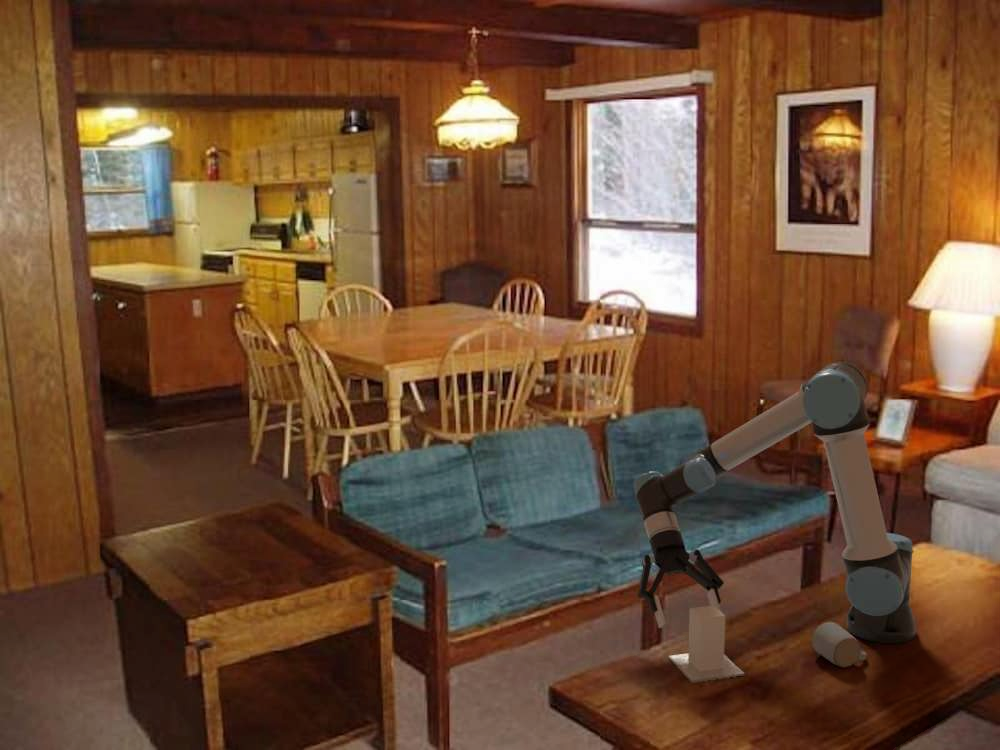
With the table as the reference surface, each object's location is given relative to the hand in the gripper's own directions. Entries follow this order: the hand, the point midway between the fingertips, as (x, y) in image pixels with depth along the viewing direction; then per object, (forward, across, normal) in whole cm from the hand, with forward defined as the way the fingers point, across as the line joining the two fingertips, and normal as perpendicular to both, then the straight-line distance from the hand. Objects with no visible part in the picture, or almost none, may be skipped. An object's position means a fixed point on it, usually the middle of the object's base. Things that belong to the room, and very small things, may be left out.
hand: (690, 622), depth 235 cm
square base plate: (+10, 0, 0) cm, 10 cm away
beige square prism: (+10, 0, +1) cm, 10 cm away
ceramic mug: (+14, -30, +4) cm, 33 cm away
